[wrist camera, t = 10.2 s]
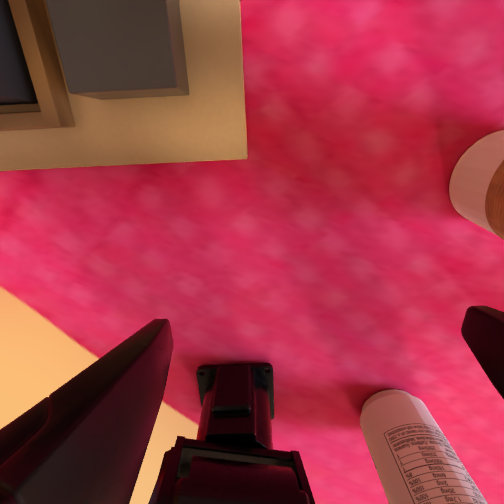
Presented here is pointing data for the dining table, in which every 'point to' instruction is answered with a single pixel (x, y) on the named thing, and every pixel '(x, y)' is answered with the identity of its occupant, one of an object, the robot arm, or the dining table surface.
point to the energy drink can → (414, 453)
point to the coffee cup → (481, 183)
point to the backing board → (155, 118)
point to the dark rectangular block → (13, 63)
